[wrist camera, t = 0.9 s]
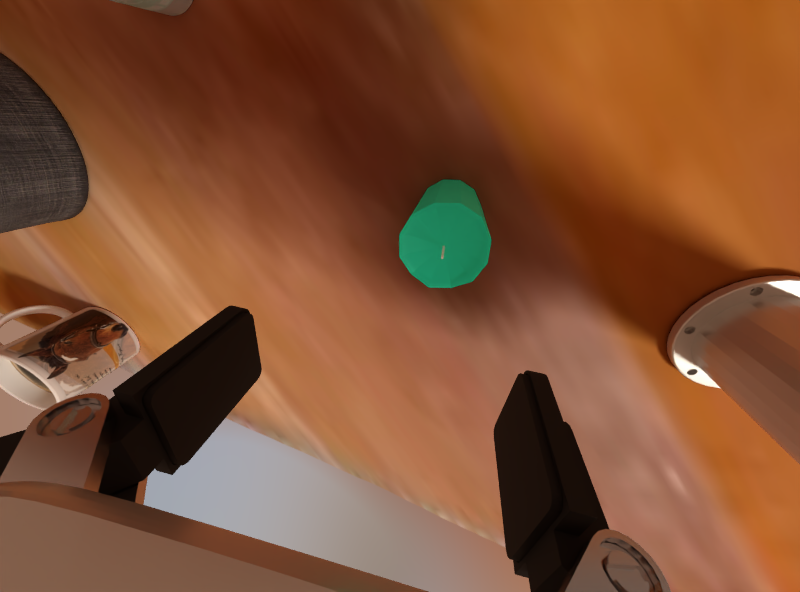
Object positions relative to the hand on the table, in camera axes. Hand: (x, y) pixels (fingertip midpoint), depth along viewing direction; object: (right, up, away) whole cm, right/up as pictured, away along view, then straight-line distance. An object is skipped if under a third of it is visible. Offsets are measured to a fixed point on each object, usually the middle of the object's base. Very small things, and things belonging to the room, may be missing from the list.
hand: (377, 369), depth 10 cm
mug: (-45, -2, +35) cm, 58 cm away
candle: (+5, +11, +18) cm, 21 cm away
